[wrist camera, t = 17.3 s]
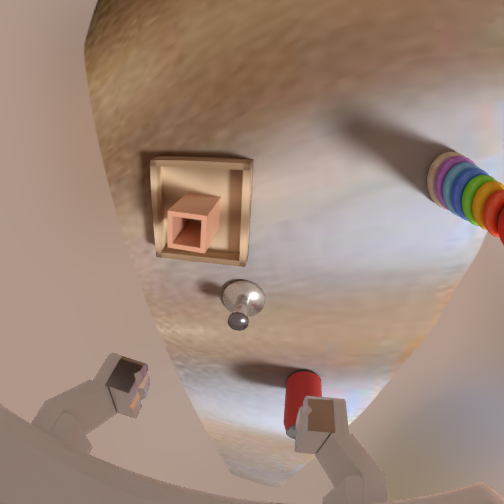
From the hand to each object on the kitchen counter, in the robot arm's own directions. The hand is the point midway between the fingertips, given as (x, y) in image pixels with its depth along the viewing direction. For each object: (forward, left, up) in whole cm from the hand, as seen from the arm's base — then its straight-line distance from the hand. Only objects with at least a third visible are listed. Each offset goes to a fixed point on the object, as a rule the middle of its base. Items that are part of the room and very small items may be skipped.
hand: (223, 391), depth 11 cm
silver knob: (+18, -3, -31) cm, 36 cm away
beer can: (+36, +9, -31) cm, 49 cm away
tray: (+4, -9, -31) cm, 33 cm away
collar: (+4, -9, -30) cm, 32 cm away
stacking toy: (-4, +24, -31) cm, 40 cm away
